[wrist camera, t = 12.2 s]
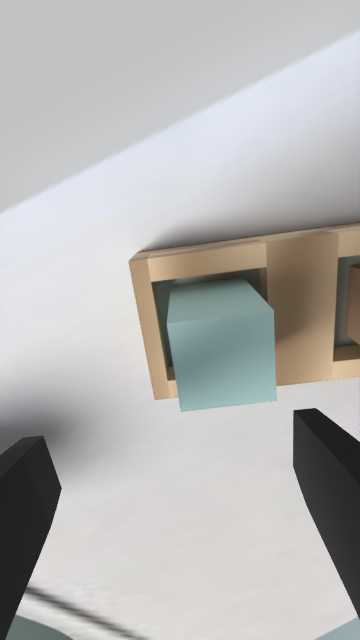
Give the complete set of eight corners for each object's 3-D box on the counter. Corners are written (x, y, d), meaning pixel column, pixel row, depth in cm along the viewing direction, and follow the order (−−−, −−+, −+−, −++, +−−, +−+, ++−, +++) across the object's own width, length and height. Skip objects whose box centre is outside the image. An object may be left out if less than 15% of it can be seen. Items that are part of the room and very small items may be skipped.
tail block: (243, 277, 14) (273, 310, 10) (247, 343, 16) (276, 400, 11) (170, 286, 15) (166, 323, 10) (180, 351, 16) (181, 411, 11)
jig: (507, 202, 15) (576, 201, 12) (476, 335, 17) (528, 357, 14) (137, 252, 15) (128, 261, 13) (158, 372, 18) (154, 400, 15)
